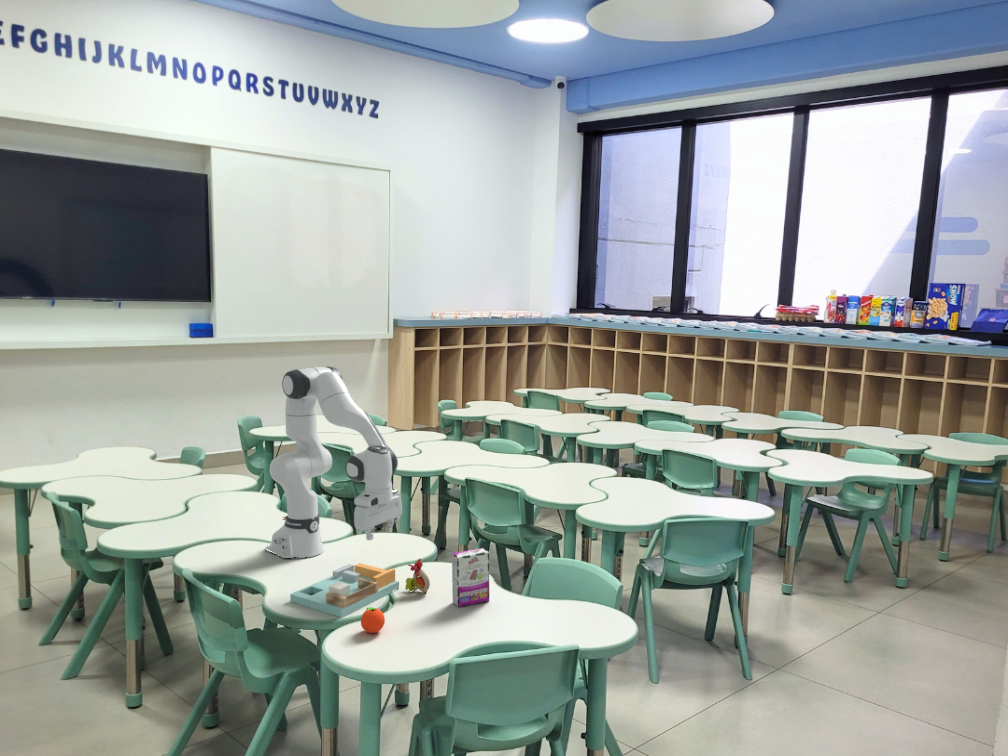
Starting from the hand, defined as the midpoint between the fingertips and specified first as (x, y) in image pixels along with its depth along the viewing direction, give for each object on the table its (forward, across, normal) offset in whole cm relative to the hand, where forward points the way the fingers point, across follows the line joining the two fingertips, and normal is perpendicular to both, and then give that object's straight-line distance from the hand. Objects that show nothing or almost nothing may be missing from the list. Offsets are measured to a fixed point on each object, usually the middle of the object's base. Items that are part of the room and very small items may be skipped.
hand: (379, 535), depth 256 cm
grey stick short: (+15, +4, -13) cm, 20 cm away
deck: (+17, +12, -4) cm, 21 cm away
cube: (+15, +20, +1) cm, 25 cm away
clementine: (+18, +27, +21) cm, 39 cm away
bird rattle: (+18, -4, +14) cm, 23 cm away
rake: (+15, +3, -2) cm, 15 cm away
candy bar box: (+18, -6, +33) cm, 38 cm away
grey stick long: (+15, +6, -8) cm, 17 cm away
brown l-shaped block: (+15, +16, +3) cm, 22 cm away
